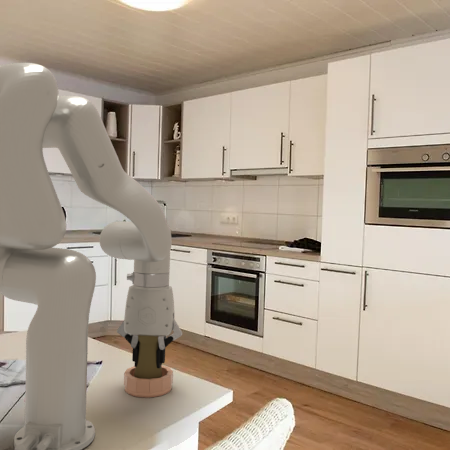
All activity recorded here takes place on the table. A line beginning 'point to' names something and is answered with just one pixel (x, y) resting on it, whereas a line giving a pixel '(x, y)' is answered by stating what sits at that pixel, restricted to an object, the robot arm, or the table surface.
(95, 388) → the table surface
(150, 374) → the cork
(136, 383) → the copper faceted bowl
